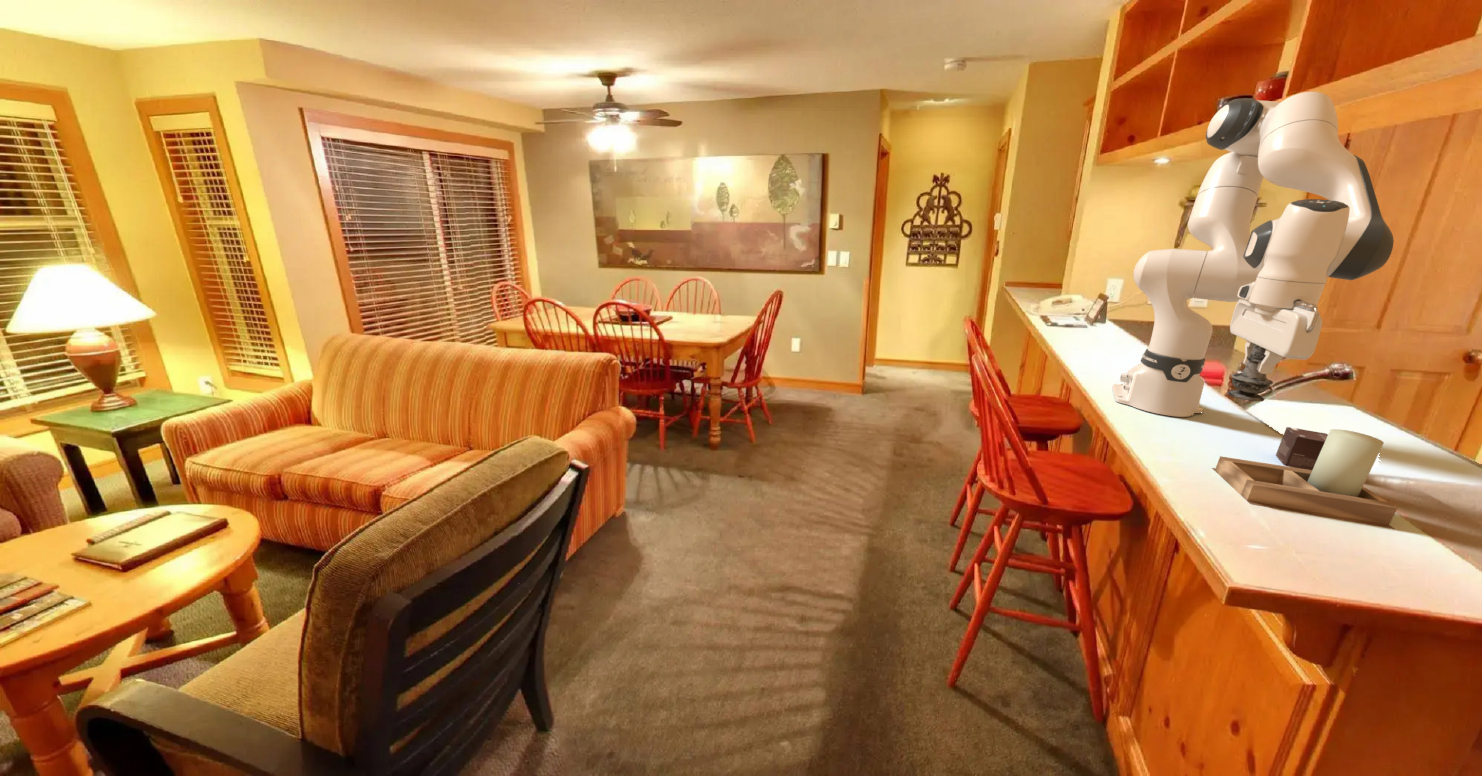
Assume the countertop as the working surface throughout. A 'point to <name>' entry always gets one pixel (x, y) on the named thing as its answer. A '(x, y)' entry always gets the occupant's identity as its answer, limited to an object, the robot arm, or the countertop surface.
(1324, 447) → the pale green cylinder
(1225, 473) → the divided wooden tray
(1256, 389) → the dark grey chess piece
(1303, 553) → the countertop surface
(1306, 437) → the box
